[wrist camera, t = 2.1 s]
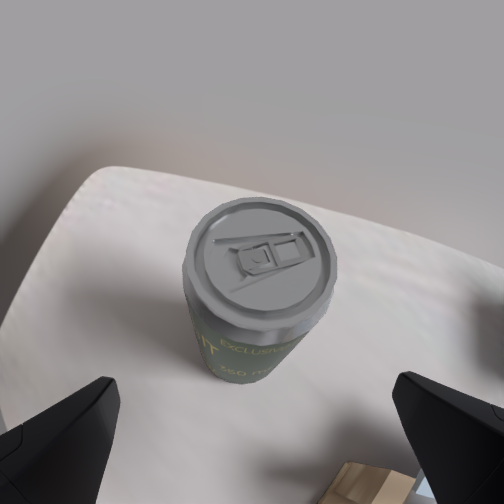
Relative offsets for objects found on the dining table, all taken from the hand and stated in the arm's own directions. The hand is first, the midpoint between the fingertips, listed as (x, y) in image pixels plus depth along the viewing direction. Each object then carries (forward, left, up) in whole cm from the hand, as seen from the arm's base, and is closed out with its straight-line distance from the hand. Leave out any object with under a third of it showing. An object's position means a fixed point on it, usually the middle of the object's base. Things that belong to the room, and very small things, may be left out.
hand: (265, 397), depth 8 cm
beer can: (+1, +4, -11) cm, 12 cm away
